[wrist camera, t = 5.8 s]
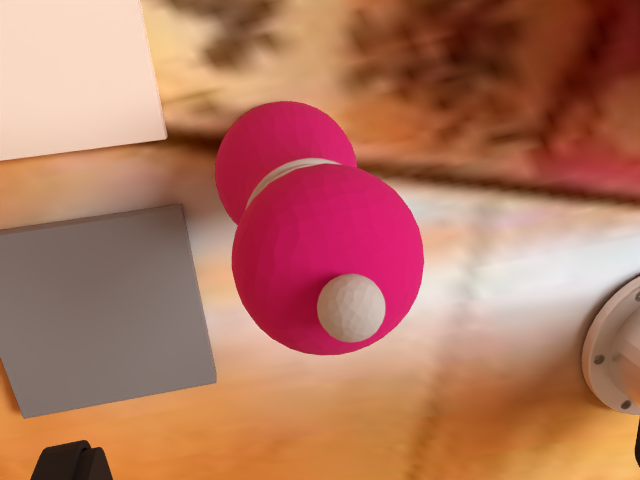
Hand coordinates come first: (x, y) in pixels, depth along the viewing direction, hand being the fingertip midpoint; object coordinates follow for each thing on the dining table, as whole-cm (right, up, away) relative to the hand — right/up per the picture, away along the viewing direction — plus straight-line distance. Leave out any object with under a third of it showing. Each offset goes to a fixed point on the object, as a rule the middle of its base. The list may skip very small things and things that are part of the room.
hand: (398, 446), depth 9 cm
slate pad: (-15, -1, +24) cm, 28 cm away
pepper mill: (-4, +8, +23) cm, 25 cm away
